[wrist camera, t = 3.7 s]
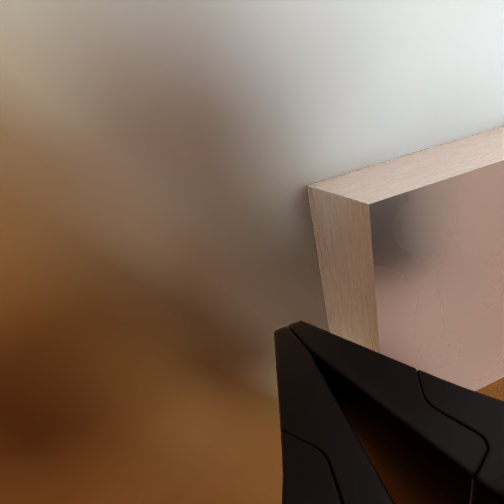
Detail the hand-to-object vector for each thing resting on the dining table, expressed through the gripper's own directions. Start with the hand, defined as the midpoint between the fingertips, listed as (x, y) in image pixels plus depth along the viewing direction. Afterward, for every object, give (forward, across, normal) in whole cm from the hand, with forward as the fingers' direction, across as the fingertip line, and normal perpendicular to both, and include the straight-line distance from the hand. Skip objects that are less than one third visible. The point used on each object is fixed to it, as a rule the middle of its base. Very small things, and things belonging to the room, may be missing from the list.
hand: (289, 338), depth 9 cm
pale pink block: (+2, -8, 0) cm, 8 cm away
